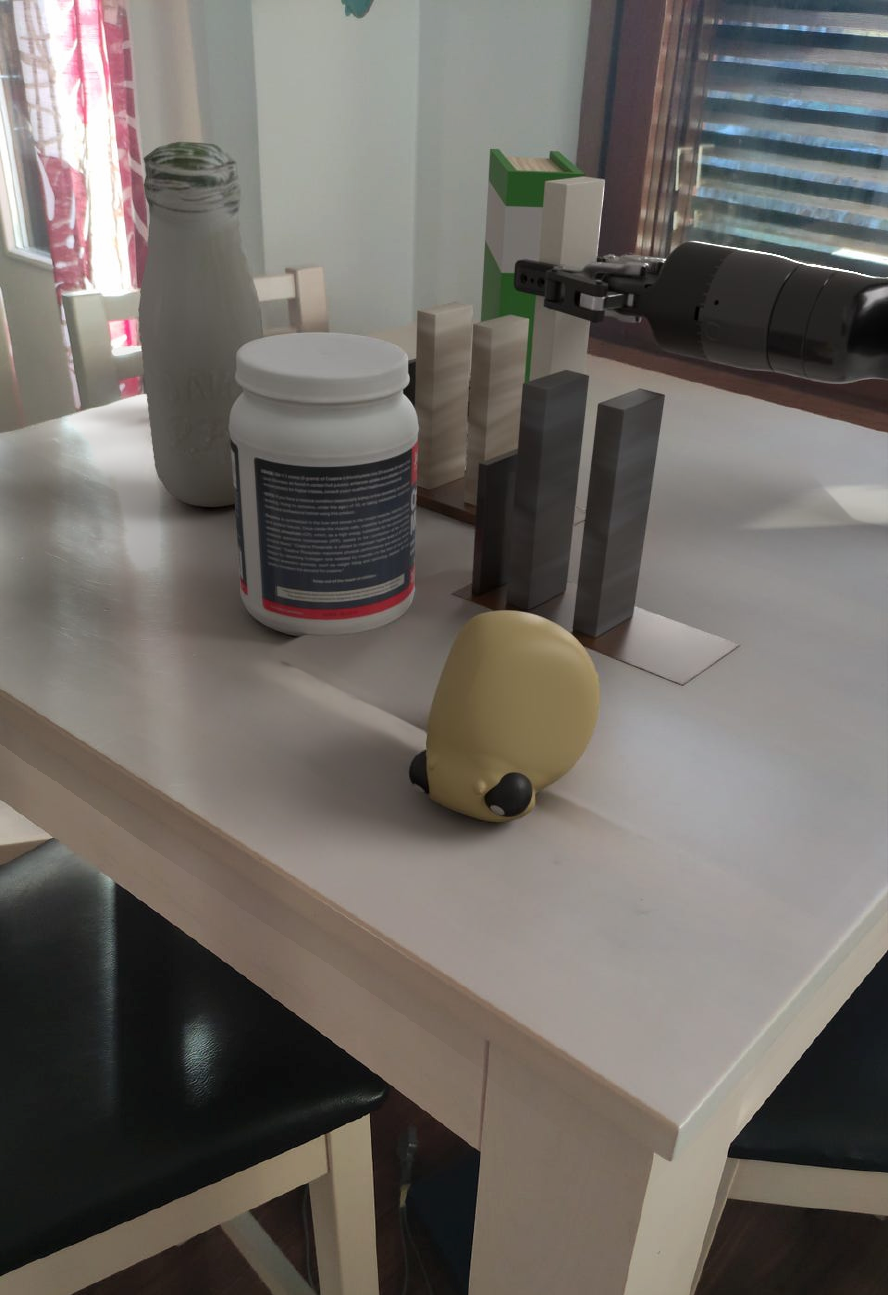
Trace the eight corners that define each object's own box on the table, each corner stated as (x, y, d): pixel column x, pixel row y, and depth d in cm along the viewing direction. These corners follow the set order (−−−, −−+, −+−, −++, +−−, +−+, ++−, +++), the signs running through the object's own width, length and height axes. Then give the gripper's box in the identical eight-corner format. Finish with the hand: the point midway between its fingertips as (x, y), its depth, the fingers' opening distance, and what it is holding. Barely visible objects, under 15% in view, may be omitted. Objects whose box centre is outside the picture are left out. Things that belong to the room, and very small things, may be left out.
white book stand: (598, 524, 102) (620, 334, 93) (544, 550, 97) (563, 351, 88) (426, 467, 112) (431, 291, 103) (369, 487, 107) (369, 304, 98)
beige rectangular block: (584, 384, 95) (605, 179, 87) (548, 396, 92) (567, 184, 84) (564, 379, 96) (583, 176, 88) (528, 390, 93) (544, 181, 85)
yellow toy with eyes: (430, 806, 73) (348, 766, 63) (502, 629, 73) (432, 563, 64) (569, 860, 68) (503, 826, 59) (645, 671, 69) (592, 607, 59)
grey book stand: (738, 657, 83) (787, 417, 73) (680, 698, 78) (725, 446, 68) (514, 573, 93) (532, 353, 83) (450, 605, 88) (461, 374, 78)
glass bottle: (158, 526, 98) (118, 149, 82) (157, 483, 106) (120, 132, 90) (276, 521, 100) (259, 151, 84) (266, 479, 108) (249, 135, 92)
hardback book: (477, 376, 139) (490, 148, 125) (539, 378, 139) (558, 151, 126) (491, 423, 124) (507, 171, 111) (560, 424, 125) (584, 174, 111)
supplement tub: (450, 611, 87) (462, 358, 76) (317, 666, 79) (310, 393, 69) (336, 557, 94) (333, 319, 84) (205, 603, 86) (183, 346, 76)
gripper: (789, 238, 85) (595, 208, 93) (689, 262, 75) (484, 225, 84) (769, 346, 89) (585, 307, 98) (672, 380, 80) (478, 334, 88)
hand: (539, 269), depth 91 cm, fingers closed on beige rectangular block, 5 cm apart
